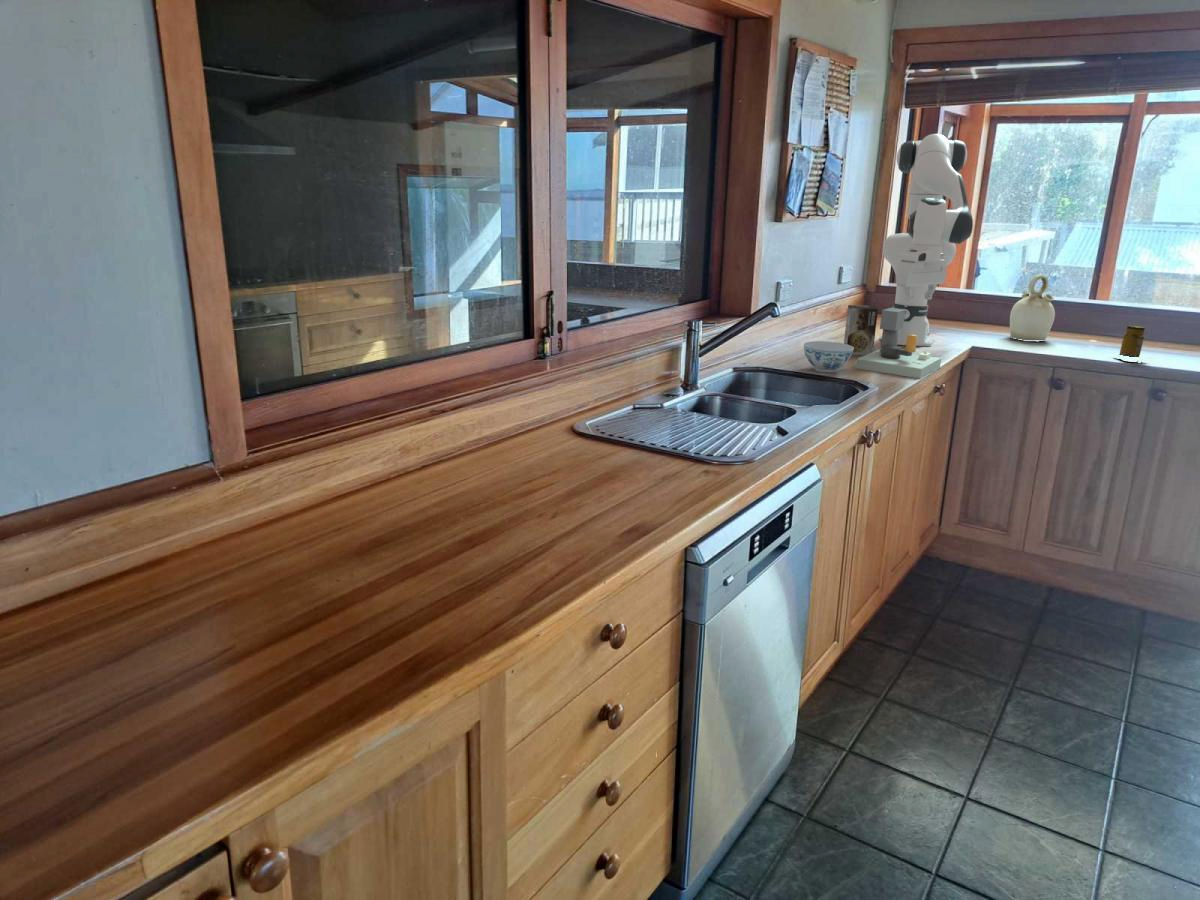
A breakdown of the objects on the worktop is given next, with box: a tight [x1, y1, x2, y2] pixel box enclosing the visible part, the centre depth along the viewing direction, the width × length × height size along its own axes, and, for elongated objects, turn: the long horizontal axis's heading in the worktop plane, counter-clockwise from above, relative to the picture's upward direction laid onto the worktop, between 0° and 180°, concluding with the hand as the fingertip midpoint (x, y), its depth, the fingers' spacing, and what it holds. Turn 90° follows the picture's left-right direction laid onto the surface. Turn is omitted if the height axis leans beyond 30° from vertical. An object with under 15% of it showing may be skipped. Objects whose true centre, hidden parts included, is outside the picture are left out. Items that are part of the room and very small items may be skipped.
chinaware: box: [803, 340, 854, 373], centre depth 263 cm, size 15×15×8 cm
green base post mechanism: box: [855, 307, 942, 379], centre depth 269 cm, size 22×20×17 cm
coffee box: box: [843, 304, 879, 356], centre depth 289 cm, size 9×6×16 cm
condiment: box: [1118, 324, 1146, 358], centre depth 295 cm, size 7×8×12 cm
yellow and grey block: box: [881, 334, 918, 358], centre depth 269 cm, size 12×6×8 cm, turn 34°
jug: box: [1009, 274, 1056, 341], centre depth 328 cm, size 15×16×25 cm
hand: (918, 300), depth 261 cm, fingers open, 8 cm apart
